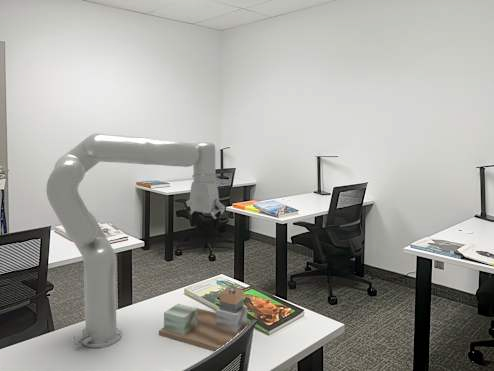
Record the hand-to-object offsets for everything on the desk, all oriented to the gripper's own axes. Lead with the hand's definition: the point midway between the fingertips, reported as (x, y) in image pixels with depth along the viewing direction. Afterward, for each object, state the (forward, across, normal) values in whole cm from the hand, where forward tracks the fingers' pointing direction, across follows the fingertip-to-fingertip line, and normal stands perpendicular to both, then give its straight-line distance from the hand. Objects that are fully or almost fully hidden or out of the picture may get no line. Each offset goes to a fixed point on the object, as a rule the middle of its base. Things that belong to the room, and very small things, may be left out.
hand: (205, 227), depth 148 cm
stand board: (+34, +6, -6) cm, 35 cm away
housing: (+27, +12, 0) cm, 29 cm away
